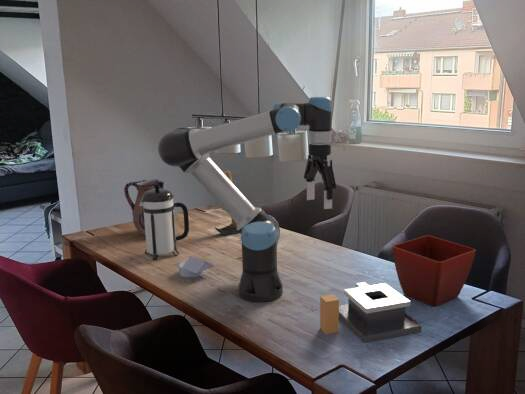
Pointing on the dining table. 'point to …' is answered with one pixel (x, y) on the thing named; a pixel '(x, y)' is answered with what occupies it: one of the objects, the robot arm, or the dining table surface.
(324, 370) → the dining table surface
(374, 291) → the tabbed square frame
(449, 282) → the plant pot
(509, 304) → the dining table surface
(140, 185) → the ceramic pitcher
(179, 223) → the dining table surface
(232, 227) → the hammer
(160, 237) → the coffee press
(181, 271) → the lavender faceted polyhedron
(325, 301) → the orange rectangular block
